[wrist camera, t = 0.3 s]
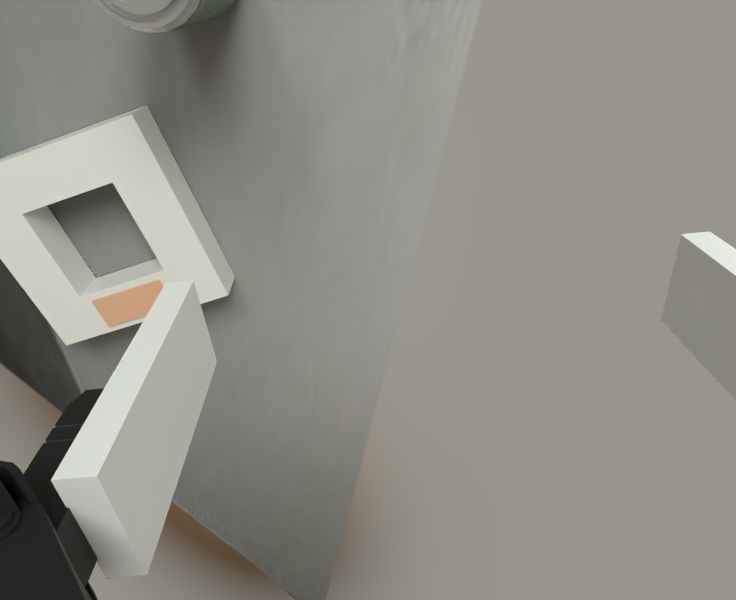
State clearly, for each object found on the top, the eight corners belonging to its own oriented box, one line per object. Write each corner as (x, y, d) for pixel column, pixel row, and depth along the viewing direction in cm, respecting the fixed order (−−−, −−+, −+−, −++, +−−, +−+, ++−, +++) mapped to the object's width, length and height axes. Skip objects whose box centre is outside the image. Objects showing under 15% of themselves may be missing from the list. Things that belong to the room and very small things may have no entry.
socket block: (-30, 169, 38) (-59, 184, 36) (146, 104, 37) (130, 114, 34) (82, 324, 45) (65, 347, 42) (235, 276, 43) (227, 296, 41)
